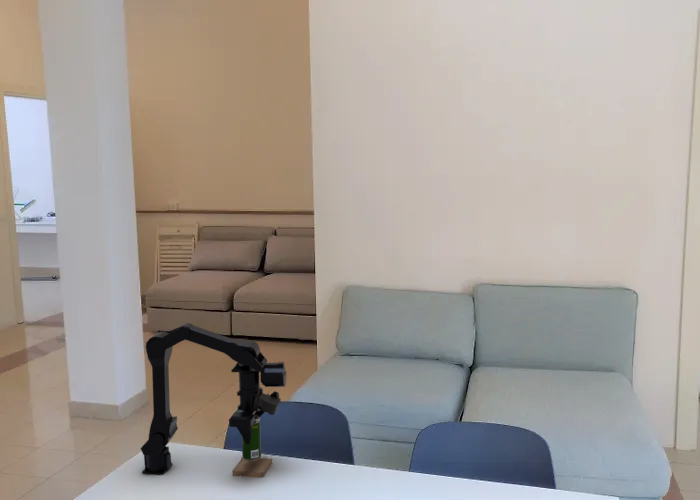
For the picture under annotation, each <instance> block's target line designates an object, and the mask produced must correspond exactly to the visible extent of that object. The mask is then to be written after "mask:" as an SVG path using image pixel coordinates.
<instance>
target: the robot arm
mask: <svg viewBox="0 0 700 500" xmlns="http://www.w3.org/2000/svg"><path fill="white" fill-rule="evenodd" d="M183 341H188V342H191V343H194V344H197V345H200V346H203V347H206V348H208V349H211V350H214V351H216V352H219V353H223V354H225V355H226V356H227V357H228V358H230V359H231V360H233V361H234V362H236V363H235V365H234V366H233V367H232V368H231V370H230V371H231V373H238V387H239V388H238V391H237V392H236V396H238V397H239V404H238V405H237V411H235V413H234V414H232V416H230V417H229V419H228V426H229V427H230V428H236V429H237V430H238V432H239V434H240V436H241V438H242V437H243V439H244V441H245V443H246V444H250V440H251V432H252V426H253V425H254V424H255V423H256V422H257V421H255V416H254V415H253V414H255V415H258V416H259V418H260V419H261V417H262V416H263V415H264V414H265V412H266V413H268V415H270V416H274V415H275V414H276V413H277V412H278V410H279V407H280V404H281V403H282V401H281V398H280V394H279V392H278V391H276V390H275V391H274V390H273V391H272V393H270V394H269V393H267V394H265V393H264V389H263V387H261V384H262V386H264V388H273V387H274V388H275V387H276V388H279V387H280V388H284V387H286V385H287V371H286V366H285V362H284V361H279V362H268V360H267V358H266V357H265V356H264V355H263V354H264V353H262V352H261V348H260V345H259V343H257V342H256V341H254V340H250V339H246V338H245V339H244V338H231V337H228V336H225V335H222V334H219V333H216V332H213V331H210V330H208V329H205V328H203V327H202V328H201V327H200V326H199V327H198V326H196V325H194V324H192V323H190V322H186V323H184V324H182V325H180V326H178V327H175V328H173V329H171V330H169V331H168V332H167V331H159V332H157V333H156V334H154V335H152V336H151V337H150V338H149V339H148V340H147V341H146V343H145V351H146V355H147V360H148V362H149V363H150V365H151V368H152V369H151V370H152V371H151V372H152V373H151V374H152V375H151V377H152V403H153V405H152V408H153V409H152V410H153V415H152V419H151V423H150V426H149V433H148V439H147V441H145V442H144V444H143V445H142V446H141V447H140V450H141V453H142V455H143V459H144V460H143V461H144V468H143V469H142V471H141V474H148V475H149V474H150V475H164V474H165V473H166V472H167V471H168V470H169V469H170V468H171V467H172V466H173V463H172V454H171V452H170V448H169V447H170V446H167V445H168V444H170V441H171V440H172V438H174V436H175V435H176V432H177V431H178V430H179V428H178V424H177V422H178V416H173V415H172V413H171V410H170V409H171V408H170V407H171V406H170V405H171V404H170V376H169V375H170V374H169V372H170V371H169V370H170V369H169V365H170V360H171V356H172V352H173V347H174V346H176V345H177V344H179V343H181V342H183ZM260 383H261V384H260Z"/></svg>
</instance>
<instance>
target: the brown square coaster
mask: <svg viewBox="0 0 700 500" xmlns="http://www.w3.org/2000/svg"><path fill="white" fill-rule="evenodd" d="M272 464H273V458H271V457H270V458H269V457H260V459H259V460H257V461H252V462H249V461H245V460H244V459H243V456H242V458H241V459H240V460H239V461H238V463H237V464H236V465H235V467H234V468H233V469H232V473H231V474H232V476H233V477H246V478H247V477H248V478H249V477H251V478H264V477H266V474H267V472H268V471H269V470H270V468H271V466H272Z"/></svg>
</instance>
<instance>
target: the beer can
mask: <svg viewBox="0 0 700 500" xmlns="http://www.w3.org/2000/svg"><path fill="white" fill-rule="evenodd" d="M253 415H254V416H255V421H257V422H256V423H255V424H254V425H253V426H252V432H251V440H250V444H246V443H245V441H244V439H243V437H242V436H241V448H242V450H241V451H242V452H241V453H242V455H241V456H242V457H243V459H244V460H245V461H249V462H252V461H257V460H259V459H260V458H262V437H261V435H262V434H261V432H262V430H261V427H262V426H261V417H260V418H259V416H258V415H255V414H253Z"/></svg>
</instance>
